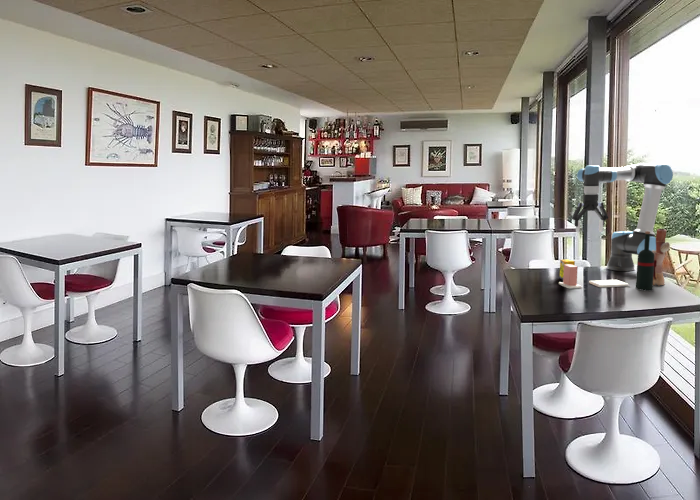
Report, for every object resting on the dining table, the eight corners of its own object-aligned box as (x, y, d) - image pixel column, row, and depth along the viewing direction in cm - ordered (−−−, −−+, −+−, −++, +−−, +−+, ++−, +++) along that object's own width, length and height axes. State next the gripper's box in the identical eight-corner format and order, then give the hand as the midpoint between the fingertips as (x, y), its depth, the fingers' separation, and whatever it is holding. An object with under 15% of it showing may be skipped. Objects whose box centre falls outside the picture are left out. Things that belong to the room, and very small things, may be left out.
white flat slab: (616, 281, 317) (616, 279, 316) (628, 286, 306) (628, 283, 306) (589, 283, 315) (589, 280, 315) (600, 287, 304) (600, 284, 304)
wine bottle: (660, 290, 296) (664, 232, 291) (641, 290, 295) (644, 232, 290) (650, 286, 303) (654, 230, 299) (632, 287, 303) (635, 230, 298)
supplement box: (559, 278, 328) (559, 259, 326) (569, 278, 328) (570, 259, 327) (563, 280, 322) (564, 261, 320) (574, 280, 323) (575, 261, 321)
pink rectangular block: (570, 283, 314) (571, 263, 312) (581, 288, 303) (582, 267, 301) (558, 284, 313) (559, 264, 311) (568, 288, 302) (569, 267, 300)
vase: (646, 282, 314) (649, 227, 309) (659, 282, 313) (663, 227, 309) (655, 286, 303) (659, 230, 299) (669, 286, 303) (673, 230, 298)
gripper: (608, 192, 322) (606, 230, 326) (566, 193, 319) (564, 231, 323) (616, 193, 315) (614, 232, 318) (573, 194, 312) (571, 233, 315)
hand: (589, 232), depth 320 cm, fingers open, 13 cm apart
